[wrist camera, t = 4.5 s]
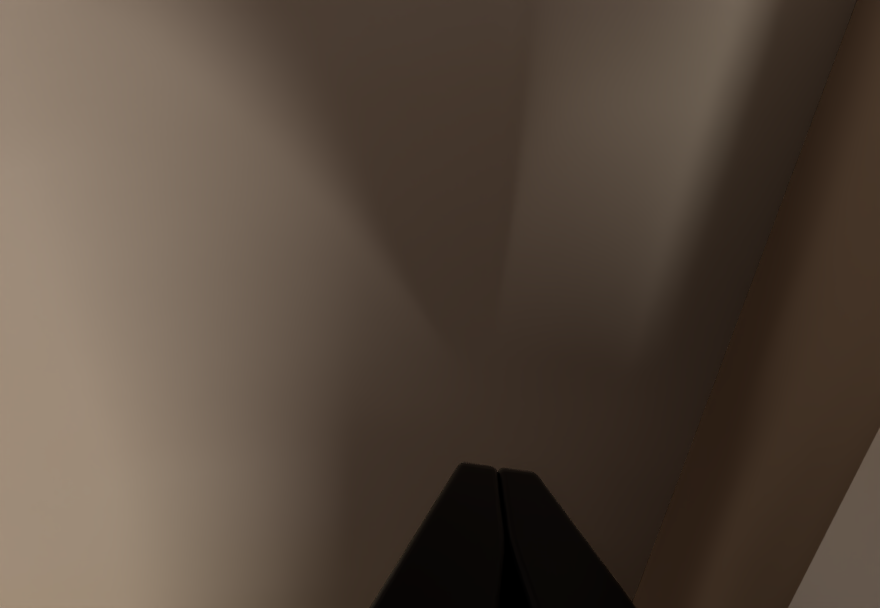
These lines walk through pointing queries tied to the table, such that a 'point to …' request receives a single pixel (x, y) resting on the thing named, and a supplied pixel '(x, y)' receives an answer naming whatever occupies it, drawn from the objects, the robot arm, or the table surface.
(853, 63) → the t block
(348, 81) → the table surface
